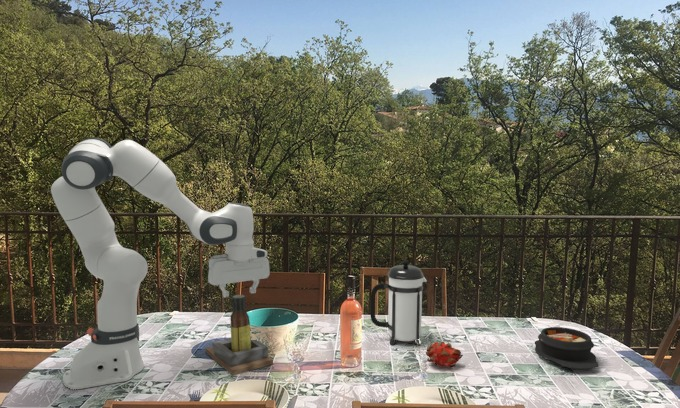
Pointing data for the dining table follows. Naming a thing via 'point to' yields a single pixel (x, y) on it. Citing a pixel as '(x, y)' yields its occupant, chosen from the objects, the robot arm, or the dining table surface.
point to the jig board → (241, 367)
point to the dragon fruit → (443, 354)
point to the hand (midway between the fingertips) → (239, 294)
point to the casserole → (566, 347)
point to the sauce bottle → (240, 325)
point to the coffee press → (402, 303)
